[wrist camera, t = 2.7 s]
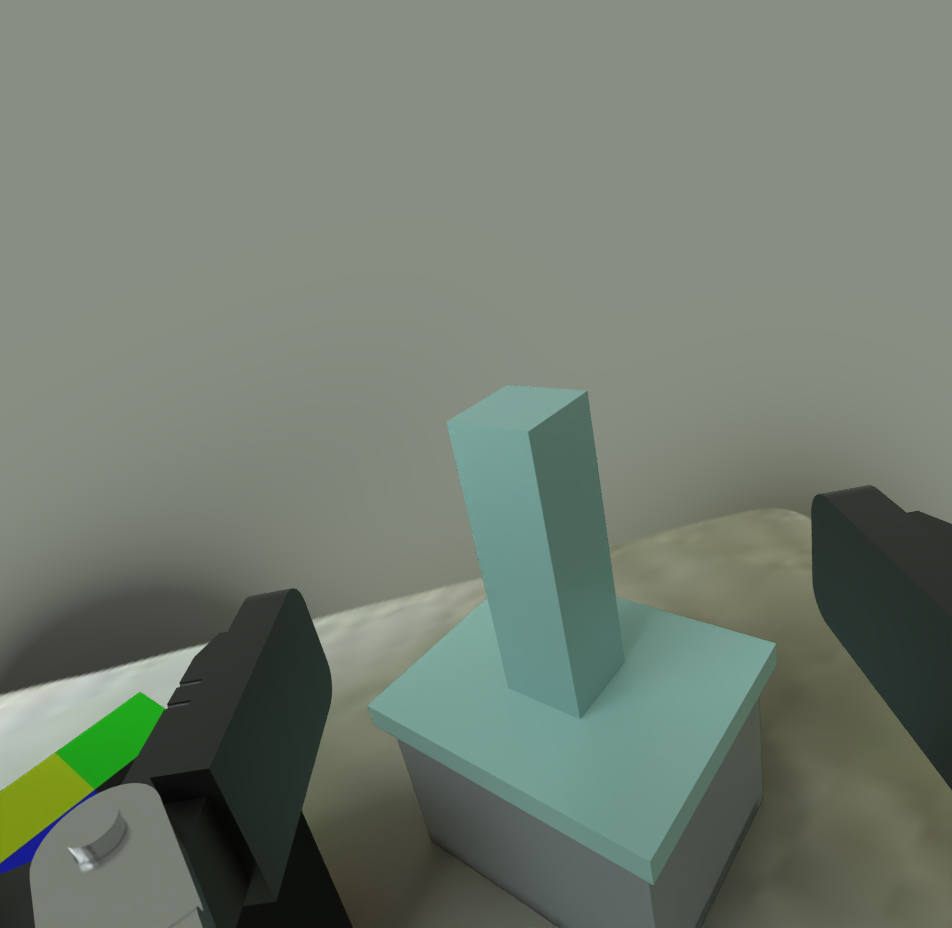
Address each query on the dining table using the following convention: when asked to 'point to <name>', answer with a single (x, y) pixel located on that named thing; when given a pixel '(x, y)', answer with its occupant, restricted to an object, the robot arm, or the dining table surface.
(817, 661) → the dining table surface
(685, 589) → the dining table surface
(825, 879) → the dining table surface
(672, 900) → the tub
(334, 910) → the puzzle toy
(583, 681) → the lid
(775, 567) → the dining table surface
